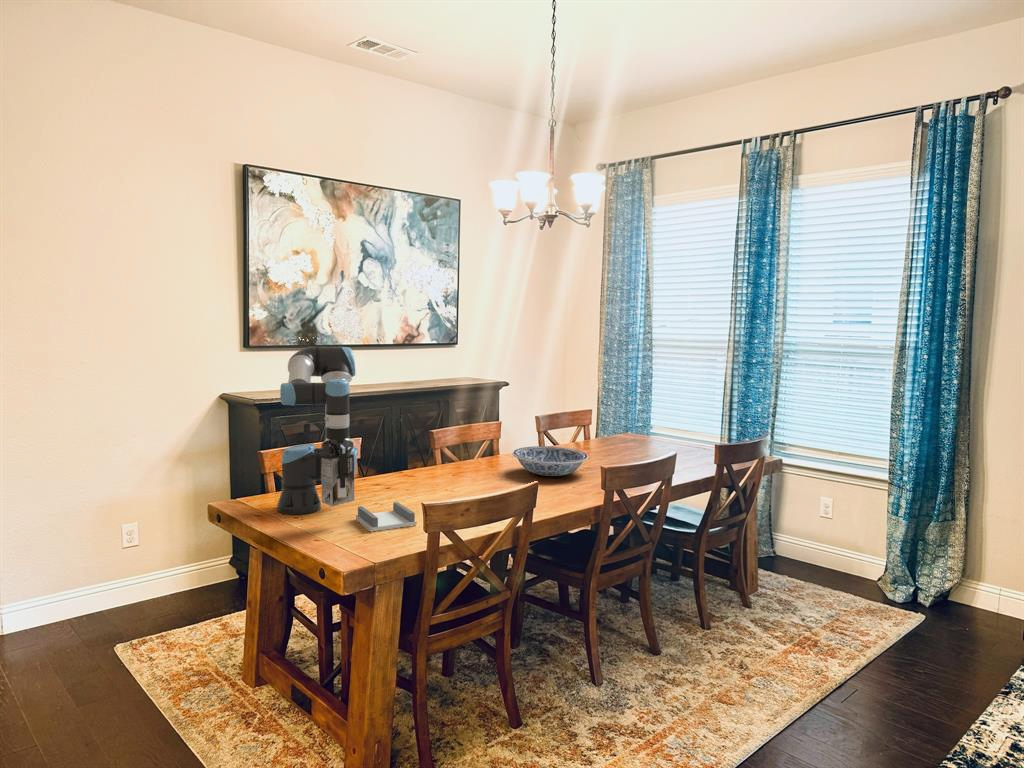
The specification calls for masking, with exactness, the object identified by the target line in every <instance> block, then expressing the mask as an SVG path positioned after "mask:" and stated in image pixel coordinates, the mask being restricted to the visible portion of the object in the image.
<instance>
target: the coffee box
mask: <svg viewBox="0 0 1024 768" xmlns="http://www.w3.org/2000/svg"><path fill="white" fill-rule="evenodd" d="M347 457H348V475H349V476H348V477H347V478H346V497H341V498H338V497H337V478H336V477H338V460H339V457H338V458H336V457H334V454H327V455H322V456H321V480H320V481H321V504H325V505H328V506H331V507H336V506H339V505H343V504H347V503H350V502H354V501H355V475H354V454H350V453H347Z"/></svg>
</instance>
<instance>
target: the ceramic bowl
mask: <svg viewBox="0 0 1024 768" xmlns="http://www.w3.org/2000/svg"><path fill="white" fill-rule="evenodd" d="M512 456H513V457H515V458H517V460H518V462H519V464H520V465H521V466H522V467H523V468H524V469H525V470H526V471H528V472H530V473H533V474H535V475H538V476H544V477H545V476H546V477H562V476H566V475H567V476H568V475H570V474H572V473H574V472H575V471H577V470H578V469H579V468H580V467H581V466H582V464H583V463H584V462H586V461H587V460H588V459H589V455H588V454H587V453H585V452H583V451H580V450H577V449H573V448H568V447H561V446H548V445H547V446H546V445H544V446H543V445H541V446H540V445H539V446H538V445H537V446H526V447H525V446H524V447H520V448H516V449H514V450H513V451H512Z"/></svg>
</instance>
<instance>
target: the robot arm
mask: <svg viewBox="0 0 1024 768" xmlns="http://www.w3.org/2000/svg"><path fill="white" fill-rule="evenodd" d="M355 363H356V362H355V355H354V351H353V350H352V348H350V347H347V346H308V347H305V348H302V349H300V350H299V351H297V352H295V353H294V354H293V355H292V356H291V357H290V358H289V360H288V362H287V370H288V374H289V375H288V381H287V382H283V383H281V384H280V388H279V389H280V392H279V394H280V395H279V396H280V403H281V404H282V405H283V406H313V405H315V406H319V405H323V406H324V405H325V417H324V419H323V420H324V421H325V439H324V441H323V442H322V443H321V447H319V448H317V447H316V445H315V444H313V443H304V444H296V445H291V446H289V447H287V448H285V449H284V450H283V451H282V453H281V473H282V474H281V487H282V488H281V492H280V496H279V498H278V502H277V510H276V511H277V512H279V513H280V514H285V515H305V514H311V513H315V512H319V510H321V508H322V505H321V504H322V500H321V499H320V496H319V493H318V490H317V488H316V487H317V486H316V485H317V484H316V481H321V456H322V455H327V454H334V457H336V458H338V457H339V460H338V477H336V478H337V497H338V498H341V497H346V478H347V477H348V476H349V475H348V457H347V453H350V454H354V476H355V475H356V468H357V457H358V447H357V446H355V443H354V441H353V440H351V438H350V382H351V381H352V380H353V378H354V377H355V376H356V364H355ZM312 377H319V378H321V379H320V380H321V382H311V379H312Z"/></svg>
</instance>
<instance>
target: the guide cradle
mask: <svg viewBox="0 0 1024 768" xmlns="http://www.w3.org/2000/svg"><path fill="white" fill-rule="evenodd" d="M392 504H393V507H392V509H393V510H389V511H388V510H387V511H380V512H373V513H372V512H371V511H370V510H368V509H367V508H365V507H364V506H361V505H359V506H358V507H357V514H356V515H355V520H356V521H357V522H358V521H359V522H360V525H362V526H363V527H364V526H365V527H366V528H365V527H364V528H365V529H367V531H369V530H370V531H371V532H370V533H374V532H373V531H376V532H379V531H378V530H383V531H387V530H386V529H390V530H394V529H393V528H397V529H401V528H400V527H404V528H406V527H405V526H410V527H412V526H411V525H417V520H415V519H416V518H415V512H414V511H413V510H411V509H410V508H408V507H406V506H405V505H403V504H401V503H400V502H398V501H393V503H392ZM359 522H358V523H359Z"/></svg>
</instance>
